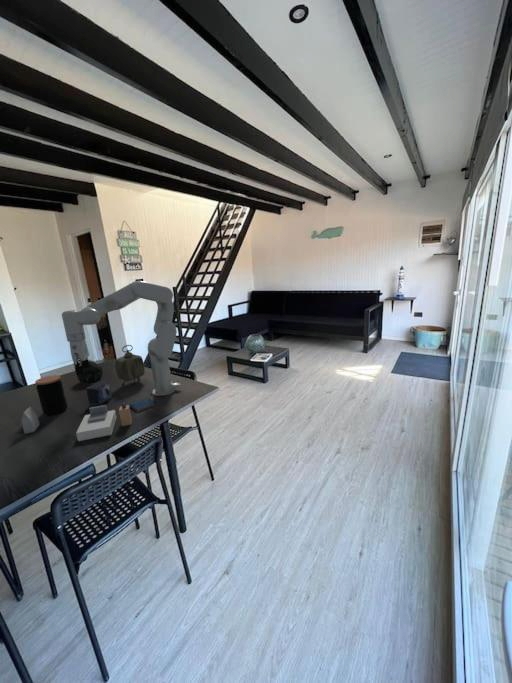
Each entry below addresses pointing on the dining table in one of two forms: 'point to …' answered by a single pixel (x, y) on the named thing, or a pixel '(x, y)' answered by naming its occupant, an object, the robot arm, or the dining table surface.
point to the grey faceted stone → (30, 421)
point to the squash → (91, 373)
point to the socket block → (96, 427)
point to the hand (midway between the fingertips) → (83, 370)
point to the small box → (99, 393)
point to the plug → (125, 414)
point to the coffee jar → (51, 395)
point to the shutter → (98, 413)
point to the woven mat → (142, 404)
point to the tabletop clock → (129, 366)
